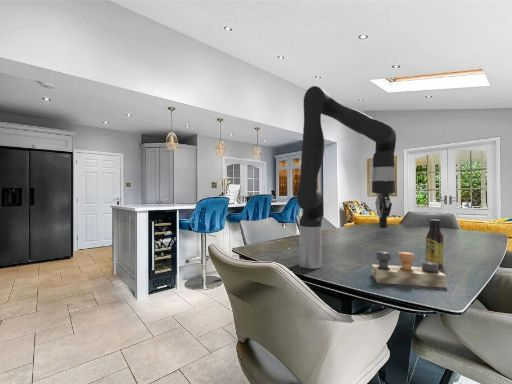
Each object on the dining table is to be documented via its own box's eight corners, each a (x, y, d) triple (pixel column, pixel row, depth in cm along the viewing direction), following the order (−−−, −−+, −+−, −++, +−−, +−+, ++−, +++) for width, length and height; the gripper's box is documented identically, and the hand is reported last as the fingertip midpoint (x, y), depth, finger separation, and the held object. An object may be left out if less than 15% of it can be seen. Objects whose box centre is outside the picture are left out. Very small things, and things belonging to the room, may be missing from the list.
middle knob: (401, 273, 90) (401, 254, 90) (396, 269, 94) (396, 251, 94) (416, 273, 89) (416, 255, 89) (411, 270, 93) (411, 252, 93)
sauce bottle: (422, 263, 114) (422, 218, 114) (436, 263, 114) (436, 218, 114) (432, 267, 108) (431, 220, 108) (447, 268, 107) (446, 220, 108)
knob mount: (377, 282, 89) (377, 271, 89) (371, 274, 98) (371, 264, 98) (446, 287, 85) (446, 275, 85) (434, 278, 93) (433, 267, 94)
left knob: (377, 271, 91) (377, 253, 91) (374, 267, 96) (374, 250, 96) (392, 272, 90) (392, 254, 90) (388, 268, 95) (388, 251, 95)
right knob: (425, 283, 88) (425, 264, 88) (419, 279, 93) (419, 261, 93) (441, 284, 87) (441, 265, 87) (434, 280, 92) (434, 262, 92)
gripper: (368, 181, 101) (368, 225, 101) (376, 179, 88) (376, 229, 88) (389, 181, 99) (388, 226, 99) (400, 179, 86) (400, 230, 86)
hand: (382, 227), depth 93 cm, fingers closed
